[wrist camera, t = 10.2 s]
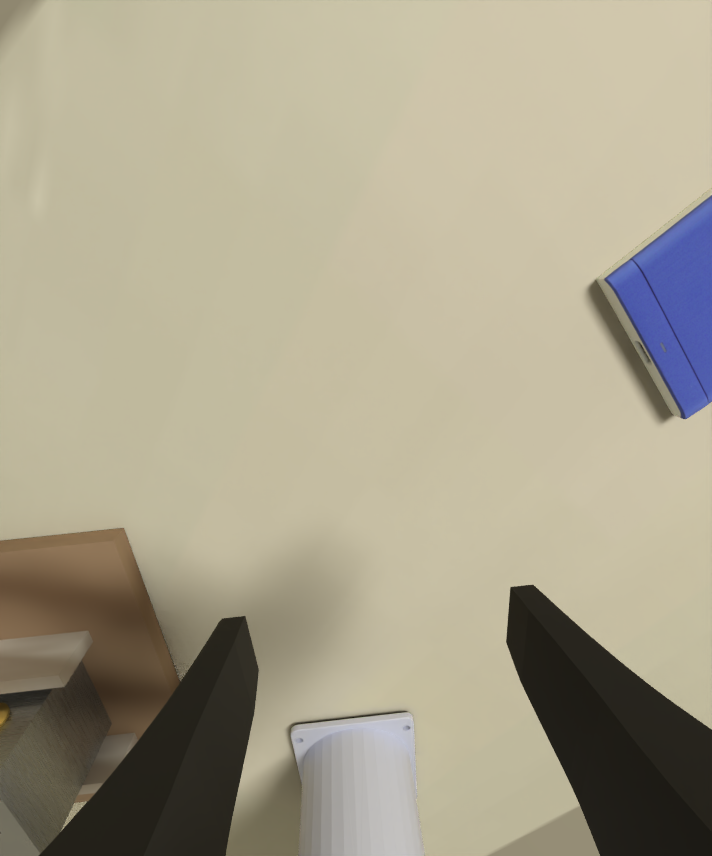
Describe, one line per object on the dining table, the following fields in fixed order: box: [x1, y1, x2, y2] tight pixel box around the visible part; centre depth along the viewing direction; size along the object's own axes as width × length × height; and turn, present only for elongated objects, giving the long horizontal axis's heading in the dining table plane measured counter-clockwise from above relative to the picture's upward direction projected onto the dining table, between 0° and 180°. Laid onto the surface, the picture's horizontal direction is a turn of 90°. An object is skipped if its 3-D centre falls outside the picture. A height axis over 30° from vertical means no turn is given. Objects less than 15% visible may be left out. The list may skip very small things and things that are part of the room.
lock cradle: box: [0, 528, 180, 803], centre depth 22 cm, size 20×12×4 cm, turn 5°
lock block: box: [0, 660, 112, 856], centre depth 20 cm, size 6×4×6 cm, turn 5°
